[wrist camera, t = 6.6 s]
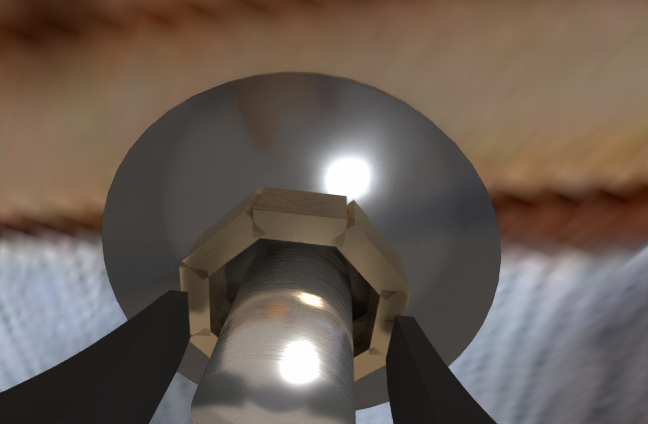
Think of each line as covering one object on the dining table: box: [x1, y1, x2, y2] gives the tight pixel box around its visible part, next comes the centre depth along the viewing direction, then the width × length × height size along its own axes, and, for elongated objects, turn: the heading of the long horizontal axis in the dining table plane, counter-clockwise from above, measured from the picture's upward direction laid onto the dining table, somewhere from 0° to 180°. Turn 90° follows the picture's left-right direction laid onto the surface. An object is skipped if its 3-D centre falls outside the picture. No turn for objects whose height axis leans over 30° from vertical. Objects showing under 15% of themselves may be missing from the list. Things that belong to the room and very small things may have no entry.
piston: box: [191, 241, 356, 424], centre depth 13 cm, size 4×4×6 cm
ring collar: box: [102, 72, 501, 411], centre depth 15 cm, size 16×16×3 cm
